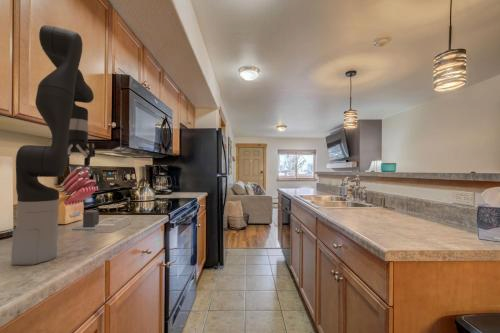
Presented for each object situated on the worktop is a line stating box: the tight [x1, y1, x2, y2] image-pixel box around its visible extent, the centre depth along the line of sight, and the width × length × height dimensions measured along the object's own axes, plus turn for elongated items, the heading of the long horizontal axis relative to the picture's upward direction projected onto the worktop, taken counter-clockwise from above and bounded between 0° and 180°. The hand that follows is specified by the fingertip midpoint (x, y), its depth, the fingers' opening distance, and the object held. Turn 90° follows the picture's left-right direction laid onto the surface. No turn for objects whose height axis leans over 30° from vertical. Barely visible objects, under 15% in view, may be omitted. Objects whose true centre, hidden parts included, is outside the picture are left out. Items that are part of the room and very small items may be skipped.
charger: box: [82, 209, 100, 227], centre depth 111 cm, size 4×4×7 cm
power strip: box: [94, 215, 132, 233], centre depth 111 cm, size 18×7×4 cm, turn 3°
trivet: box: [72, 224, 95, 231], centre depth 111 cm, size 10×10×1 cm
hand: (76, 166), depth 108 cm, fingers open, 8 cm apart
